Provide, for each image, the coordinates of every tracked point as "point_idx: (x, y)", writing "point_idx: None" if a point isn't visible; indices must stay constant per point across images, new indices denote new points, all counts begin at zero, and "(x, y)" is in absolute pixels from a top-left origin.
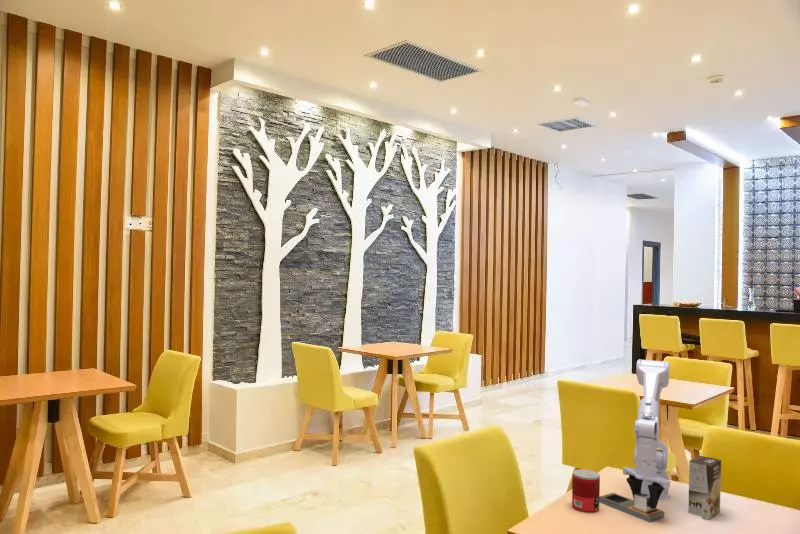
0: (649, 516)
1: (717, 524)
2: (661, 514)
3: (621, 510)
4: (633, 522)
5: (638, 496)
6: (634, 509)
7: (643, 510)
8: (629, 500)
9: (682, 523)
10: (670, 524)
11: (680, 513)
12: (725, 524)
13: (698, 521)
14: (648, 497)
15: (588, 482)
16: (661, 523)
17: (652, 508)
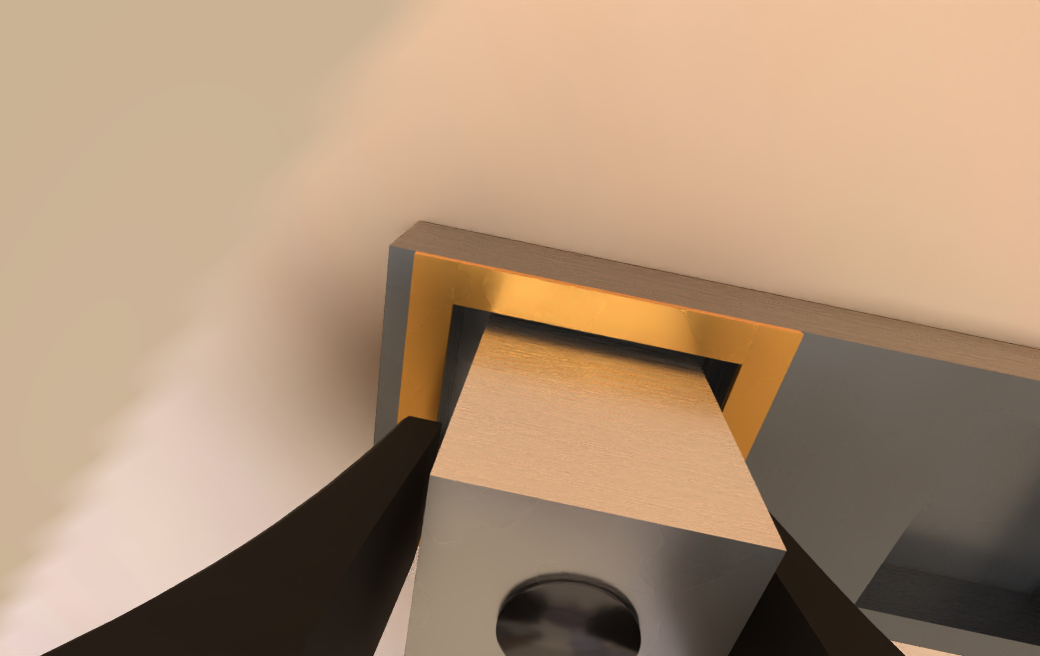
0: (403, 249)
1: (76, 620)
2: None
3: (875, 324)
4: (600, 78)
5: (662, 511)
6: (684, 334)
7: (532, 341)
8: (848, 590)
9: (223, 475)
10: (269, 374)
11: None
12: None
13: None
14: (438, 567)
15: None
16: (341, 332)
17: (404, 420)
